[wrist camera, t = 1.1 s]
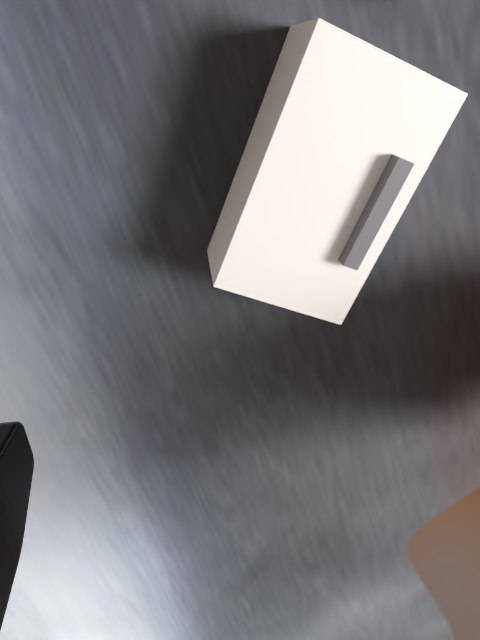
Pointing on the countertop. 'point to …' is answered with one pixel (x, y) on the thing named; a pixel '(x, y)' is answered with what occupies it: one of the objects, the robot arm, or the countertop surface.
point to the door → (327, 171)
